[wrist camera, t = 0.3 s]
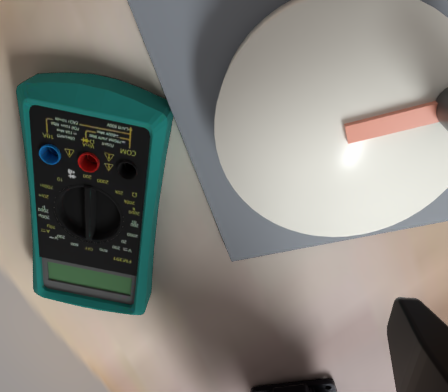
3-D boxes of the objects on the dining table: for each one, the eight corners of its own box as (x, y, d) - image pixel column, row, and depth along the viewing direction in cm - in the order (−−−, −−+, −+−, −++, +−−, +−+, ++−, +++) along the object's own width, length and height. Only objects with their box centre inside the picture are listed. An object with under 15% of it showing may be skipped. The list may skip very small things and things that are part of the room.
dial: (468, 188, 21) (548, 289, 15) (254, 232, 23) (249, 332, 17) (460, -59, 15) (581, -59, 9) (185, 33, 18) (144, 79, 12)
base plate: (499, 199, 22) (510, 211, 21) (233, 250, 26) (231, 263, 25) (504, -158, 15) (521, -165, 14) (128, -16, 18) (120, -13, 17)
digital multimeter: (179, 88, 21) (167, 108, 19) (152, 293, 29) (141, 326, 26) (37, 58, 21) (5, 73, 18) (49, 272, 29) (28, 303, 26)
